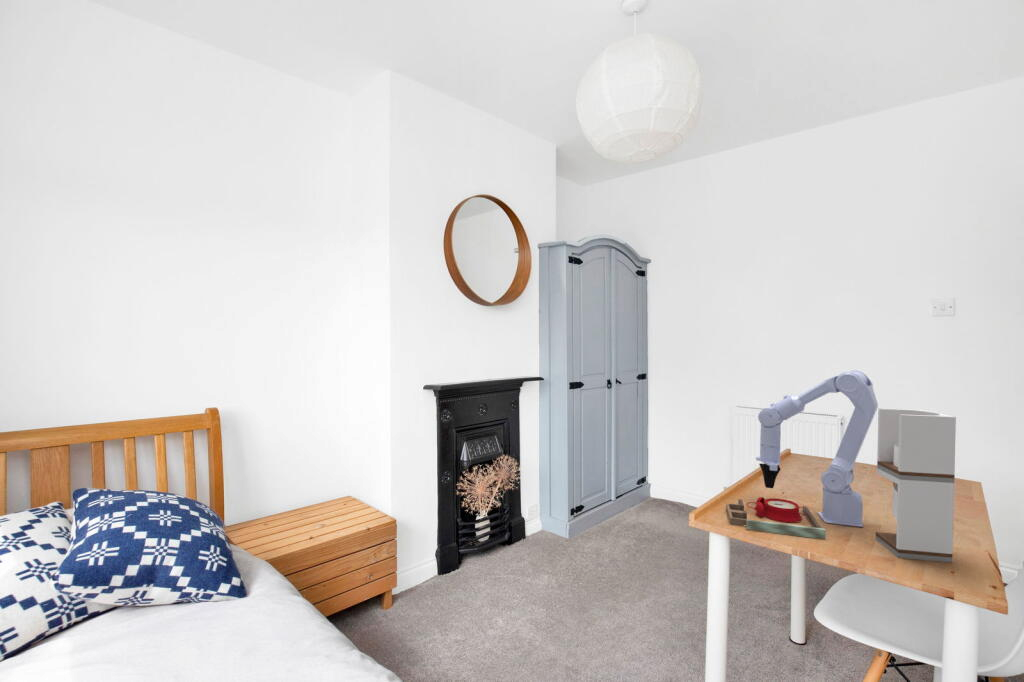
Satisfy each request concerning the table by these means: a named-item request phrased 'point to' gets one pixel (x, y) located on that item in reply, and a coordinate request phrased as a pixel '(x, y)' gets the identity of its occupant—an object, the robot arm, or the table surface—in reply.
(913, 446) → the display case
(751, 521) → the wall
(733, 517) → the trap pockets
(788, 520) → the alarm clock
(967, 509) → the table surface
